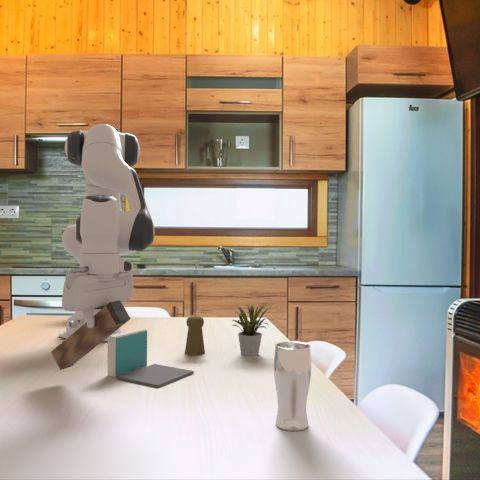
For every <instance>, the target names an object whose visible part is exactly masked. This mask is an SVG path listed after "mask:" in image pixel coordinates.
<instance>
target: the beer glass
mask: <svg viewBox="0 0 480 480" xmlns="http://www.w3.org/2000/svg"><path fill="white" fill-rule="evenodd" d="M274 346H275V347H274V358H273V377H274V384H275V391H276V397H277V413H276V418H275V426H276V427H277V428H278V429H280V430H283V431H289V432H300V431H304V430H305V429H307V428H308V427H309V420H308V414H307V401H308V395H309V390H310V384H311V378H312V377H311V376H312V354H311V345H310V344H308V343H306V342H301V341H281V342H277V343H275V345H274Z"/></svg>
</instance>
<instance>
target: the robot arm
mask: <svg viewBox="0 0 480 480" xmlns="http://www.w3.org/2000/svg"><path fill="white" fill-rule="evenodd" d="M64 152H65V155H66V157H67V161H68V162H70V164H71V165H76V166H79V167H82V172H83V175H84V176H85V196H84V198H83V199H82V205H81V212H80V216H78V217H77V218H76V219H75V224H70V225H68V226H67V227H66V228H65V229H64V231H63V233H62V235H61V243H62V247H63V249H64V250H65V251H66V252H67V253H68V254H69V255H70V256H72V257H73V258H74V259H75V260H76V261H77V262H78V264H79V267H71V268H70V269H69V270H68V272H67V273H65V279H64V284H63V288H62V297H61V307H62V308H63V310H64V311H67V312H74V313H72V314H71V315H70V316H69V317H68V318H67V321H66V324H65V325H66V326H65V331H62V332H59V333H58V337H59V338H63V339H65V340H66V339H67V338H68V337H69V336H70V335H72V334H73V333H74V332H75V331H76V330H78V329H79V328H80V327H81V326H82V325H84V324H85V323H86V322H87V327H88V328H94V327H97V319H95V318H94V315H95V314H97V313H98V312H99V311H100V310H101V309H103V308H104V307H105V306H106V305H107V304H109V303H110V302H114V301H119V300H120V301H121V303H126V302H129V301H131V300H132V298H133V296H134V276H133V273H132V272H133V271H134V267H135V266H134V262H132V261H130V260H127V259H125V258H123V257H121V256H126V255H131V254H132V255H133V254H136V252H143V251H145V250H146V249H148V248H149V247H150V246H151V245H152V244H153V243H154V239H155V225H154V221H153V219H152V215H151V213H150V211H149V208H148V206H147V202H146V199H145V195H144V192H143V188H142V185H141V183H140V178H139V177H138V174H137V172H136V170H135V169H134V168H132V167H134V166H135V165H136V164H137V163H138V161H139V158H140V156H141V146H140V143H139V140H138V138H137V137H136V136H135V135H134V134H131V133H129V132H125V133H122V132H118V131H117V129H116V128H114V127H113V126H111V125H110V124H106V123H98V124H95V125H93V126H92V127H89V128H88V130H80V129H79V130H73V131H71V132H70V133H68V135H67V138H66V140H65V142H64ZM121 195H123V196H124V197H125V198H126V199H127V202H128V203H127V204H128V207H129V210H123V208H122V202H121ZM122 332H123V329H122V326H121V327H120V328H119V329H117V330H116V331H115V332H114V333H112V334H111V335H114V334H118V333H122ZM103 342H108V337H107V338H106V339H105V340H104V341H103Z"/></svg>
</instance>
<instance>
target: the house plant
mask: <svg viewBox="0 0 480 480" xmlns="http://www.w3.org/2000/svg"><path fill="white" fill-rule="evenodd" d="M246 302H247V303H246ZM246 302H244V304H245V306H247V309H248V315H249V318H248V316H247V314H246V312H245V310H243V308H241V306H239V305H238V304H235V306H236V307H237V308H238V310H239V313H238V311H237V310H235V309H233V308H232V307H230V309H231V310H233V311H234V312H235V313H237V315H238V318H239V319H238V320H237V319H232V321H233V322H235V323H236V324H232V325H231V327H233V326H234V327H237V328H239V329H240V330H241V331H240V332H238V334H237V336H238V342H239V349H240V355H241V356H243V357H247V358H248V357H258V356H259V353H260V347H261V342H262V336H263V333H262V332H259V331H258V329H260V328H264V329H267V328H266V326H264V324H265V325H267V326H268V327H269V323H268V322H264V321H265V320H267V319H268V317H265V318H263V319H262V317H263V316H264V314H266V312H267V311H269V310H270V309H273V308H274V309H275V308H277V307H274V306H271V307H268V308H266V309H265V310H264V311H263V309H264V308H265V307H266V306H267V305H269V303H266V304H263V305H261V306H260V305H258V306H257V307H256V309H255V306H254V305H253V304H252V303H251V302H250V304H249V301H247V300H246ZM262 311H263V312H262ZM260 314H261V315H260ZM259 315H260V316H259ZM261 319H262V320H261ZM237 324H238V325H237ZM239 325H240V326H239ZM261 325H262V326H261ZM241 327H242V328H241Z"/></svg>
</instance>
